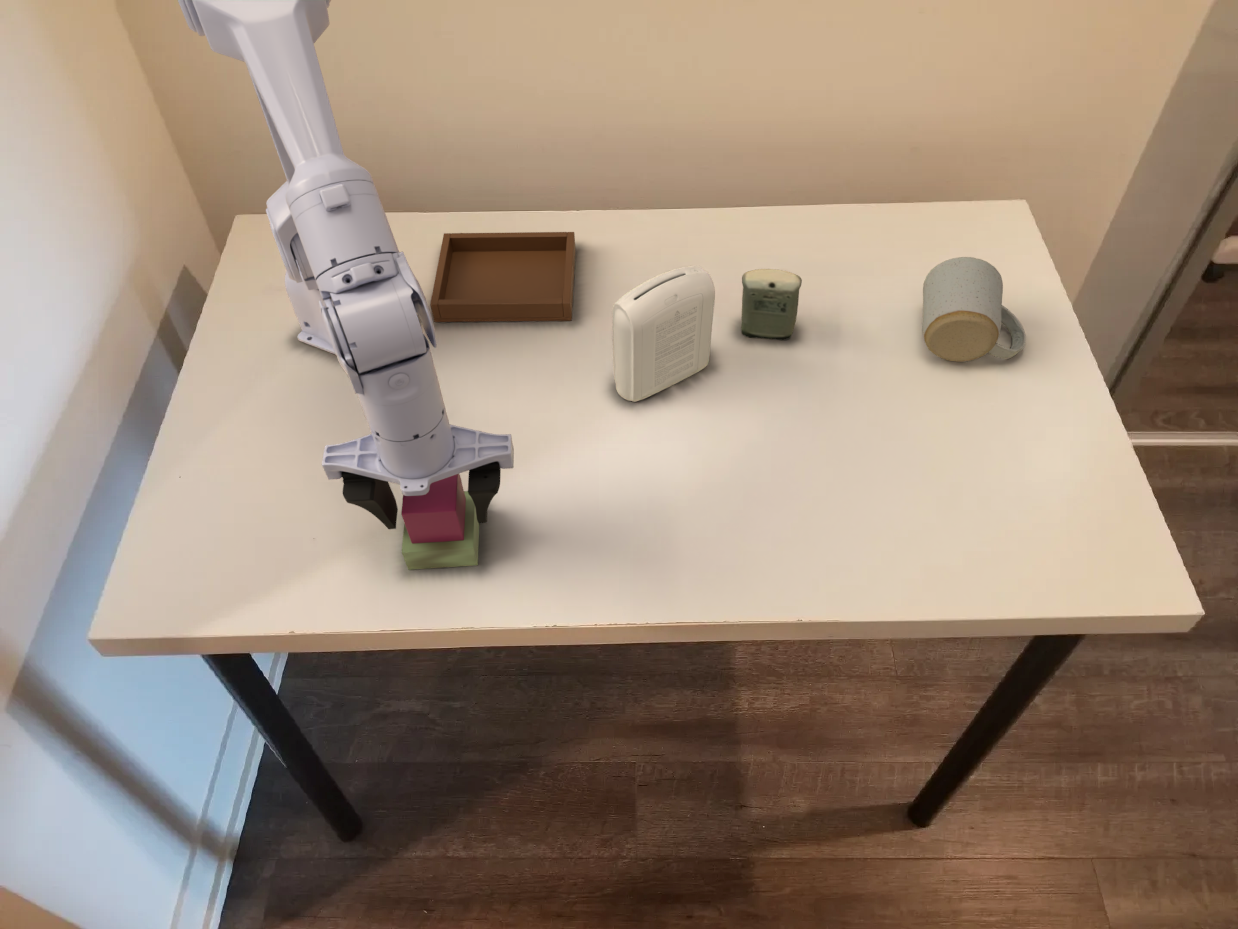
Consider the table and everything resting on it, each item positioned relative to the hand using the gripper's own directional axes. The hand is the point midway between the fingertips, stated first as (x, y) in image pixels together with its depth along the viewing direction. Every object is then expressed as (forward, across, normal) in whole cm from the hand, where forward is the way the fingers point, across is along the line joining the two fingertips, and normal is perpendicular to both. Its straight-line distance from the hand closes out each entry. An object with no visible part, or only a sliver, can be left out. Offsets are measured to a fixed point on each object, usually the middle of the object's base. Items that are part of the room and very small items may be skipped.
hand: (438, 516), depth 79 cm
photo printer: (+4, +21, +18) cm, 28 cm away
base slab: (+3, 0, 0) cm, 3 cm away
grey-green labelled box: (+4, +32, +23) cm, 40 cm away
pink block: (+1, 0, 0) cm, 1 cm away
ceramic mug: (+4, +52, +21) cm, 56 cm away
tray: (+3, +5, +33) cm, 33 cm away
